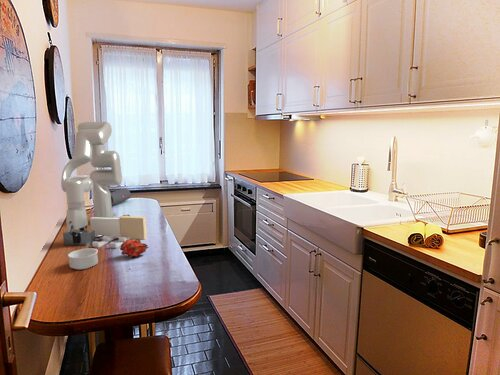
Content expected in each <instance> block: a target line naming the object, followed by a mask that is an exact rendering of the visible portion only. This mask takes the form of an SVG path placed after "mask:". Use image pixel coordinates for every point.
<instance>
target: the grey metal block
mask: <svg viewBox="0 0 500 375" xmlns="http://www.w3.org/2000/svg"><path fill="white" fill-rule="evenodd" d="M74 232H76V231H74ZM78 235H79V241H80V243H79V244H74V243H73V237H72V236H71V234H70V233H68V229H67V230H66V231H63V232H62V238H63V245H64V246H65V245H66V246H67V245H68V246H71V245H72V246H73V245H74V246H77V245H78V246H79V245H80V246H83V245H85V246H86V244H87V243H89V242H90V244H89V246H91V245H92V246H93V243H92V242H97V241H96V237H95V231H91V230H87V229H86V230H80V229H78Z"/></svg>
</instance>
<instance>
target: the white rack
mask: <svg viewBox="0 0 500 375" xmlns="http://www.w3.org/2000/svg"><path fill="white" fill-rule="evenodd" d="M121 216H122V217H121ZM121 216H119V217H120V218H119V217H113V218H101V217H95V216H92V217H90V218H89V223H90V231H95V235H105V236H109V237H101V238H102V241H96V242H92V243H93V244H92V248H96V249H98V248H101V247H102V246H104V245H106V244H108V243H109V249H117V248H120V247H121V245H122V244H123V242H125V241H126V240H130V239H131V240H132V239H134V240H136V239H137V240H141V239H142V241H143V240H146V239H148V229H147V217H146V216H137V215H136V216H134V215H133V216H131V215H130V216H123V215H121ZM115 239H118V242H113V240H115Z"/></svg>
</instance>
